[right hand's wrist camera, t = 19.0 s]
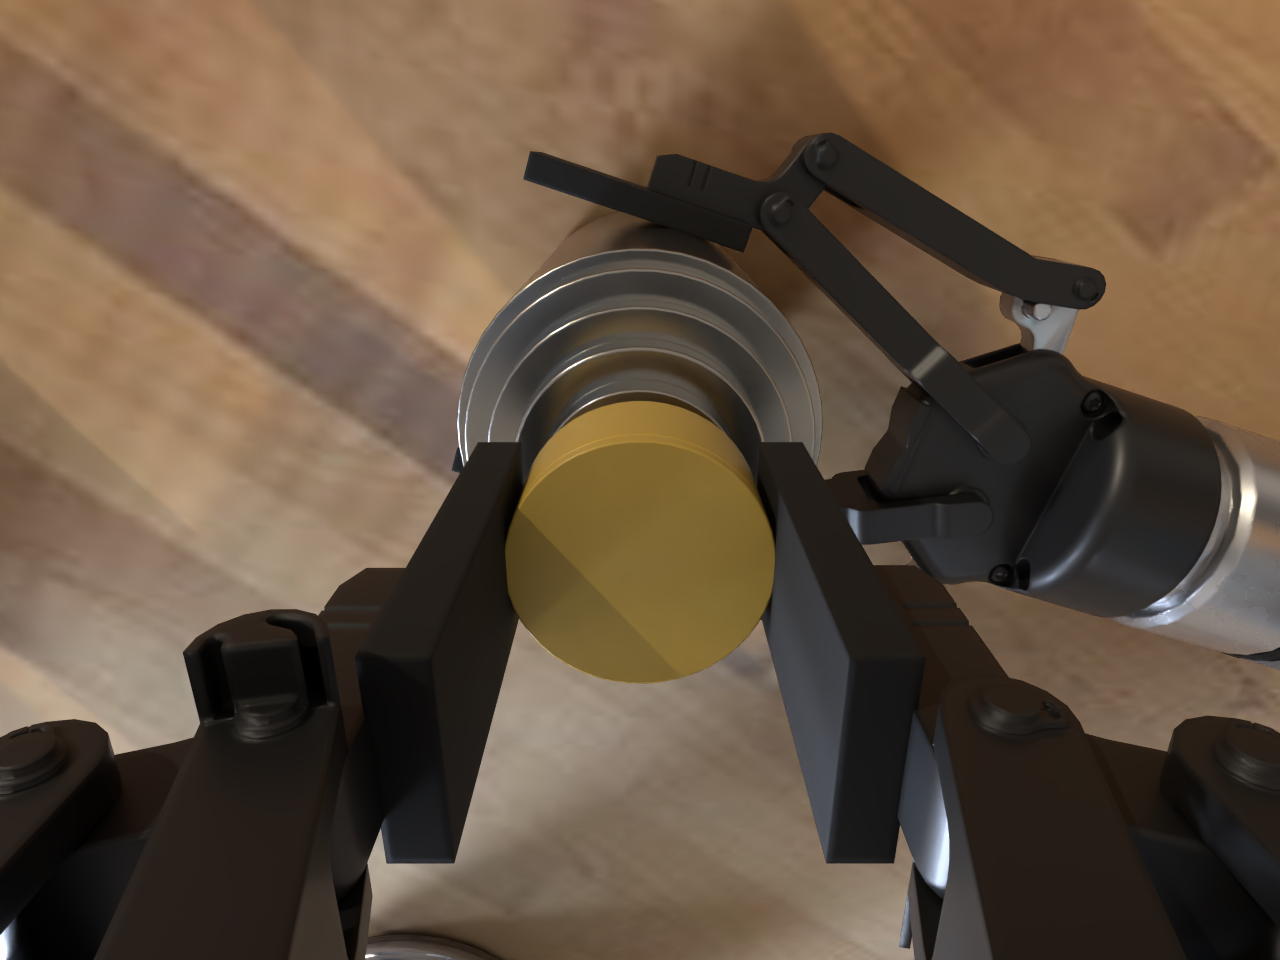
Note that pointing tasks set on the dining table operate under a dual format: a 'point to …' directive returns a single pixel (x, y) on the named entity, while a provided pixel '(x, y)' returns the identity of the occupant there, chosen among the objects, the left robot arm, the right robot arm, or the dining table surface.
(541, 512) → the cap
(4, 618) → the dining table surface
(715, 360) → the bottle
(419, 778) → the right robot arm
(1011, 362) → the left robot arm
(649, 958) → the dining table surface
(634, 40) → the dining table surface
